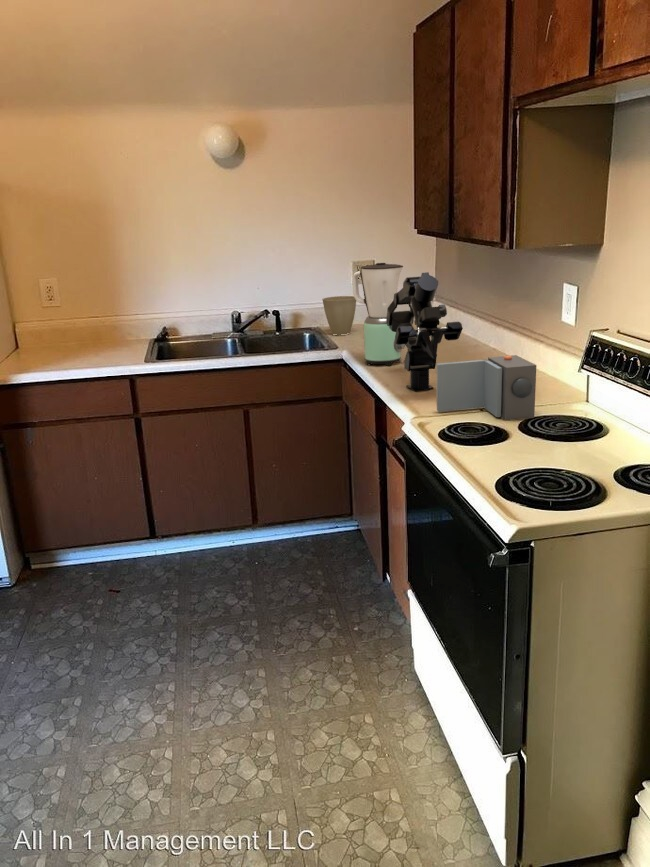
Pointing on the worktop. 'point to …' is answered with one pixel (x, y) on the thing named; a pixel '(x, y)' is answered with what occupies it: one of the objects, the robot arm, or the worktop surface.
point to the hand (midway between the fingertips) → (434, 357)
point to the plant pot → (340, 313)
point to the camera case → (516, 387)
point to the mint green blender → (378, 311)
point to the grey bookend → (469, 386)
